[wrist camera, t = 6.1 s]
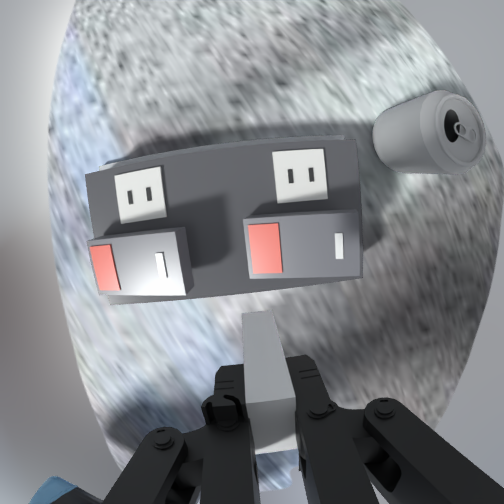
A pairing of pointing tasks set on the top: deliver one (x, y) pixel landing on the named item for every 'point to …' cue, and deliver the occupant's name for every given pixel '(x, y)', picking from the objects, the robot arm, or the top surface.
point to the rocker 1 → (142, 263)
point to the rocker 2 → (303, 244)
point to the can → (430, 135)
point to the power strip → (225, 202)
